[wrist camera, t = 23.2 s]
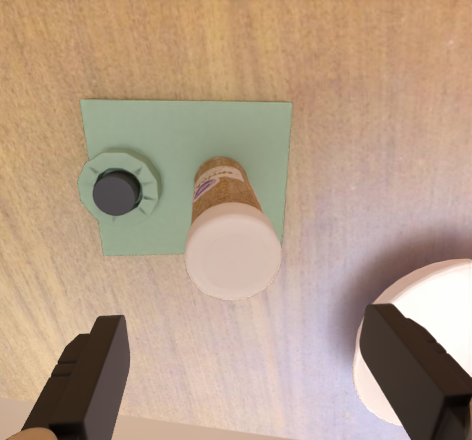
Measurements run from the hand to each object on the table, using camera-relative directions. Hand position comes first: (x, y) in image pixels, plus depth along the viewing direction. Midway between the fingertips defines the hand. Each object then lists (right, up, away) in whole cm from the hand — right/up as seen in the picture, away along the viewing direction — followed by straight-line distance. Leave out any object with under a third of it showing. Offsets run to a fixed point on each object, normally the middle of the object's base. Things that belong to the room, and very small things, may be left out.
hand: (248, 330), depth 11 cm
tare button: (-9, +6, +14) cm, 18 cm away
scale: (-4, +7, +17) cm, 19 cm away
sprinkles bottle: (-2, +7, +17) cm, 18 cm away
